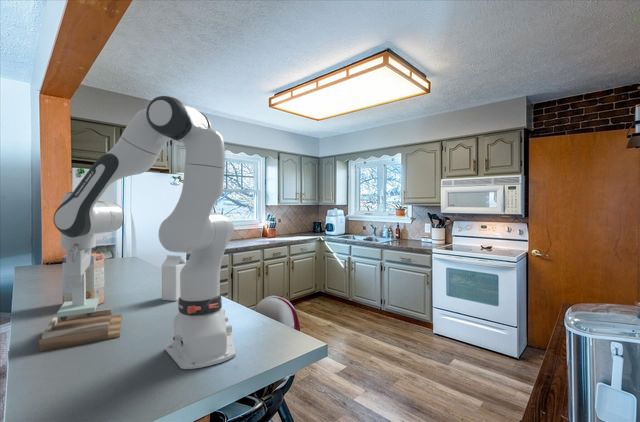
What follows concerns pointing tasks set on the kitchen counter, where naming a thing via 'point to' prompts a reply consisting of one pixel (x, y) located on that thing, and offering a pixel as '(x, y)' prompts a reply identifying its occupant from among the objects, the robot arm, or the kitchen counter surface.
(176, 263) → the milk carton
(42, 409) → the kitchen counter surface
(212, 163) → the robot arm
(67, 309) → the mint green slab
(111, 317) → the tray
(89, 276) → the cracker box
